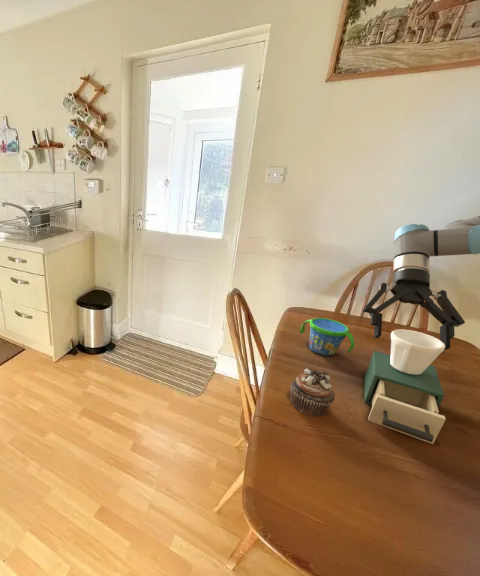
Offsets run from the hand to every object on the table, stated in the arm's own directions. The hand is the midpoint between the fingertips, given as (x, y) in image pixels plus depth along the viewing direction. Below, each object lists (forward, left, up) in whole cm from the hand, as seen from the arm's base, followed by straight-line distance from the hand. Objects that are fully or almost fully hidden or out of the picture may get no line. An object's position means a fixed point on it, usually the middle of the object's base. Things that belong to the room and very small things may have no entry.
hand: (410, 342), depth 83 cm
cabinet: (0, +4, -15) cm, 16 cm away
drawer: (0, +16, -15) cm, 22 cm away
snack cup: (+18, -12, -16) cm, 26 cm away
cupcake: (+18, +22, -16) cm, 32 cm away
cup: (0, +3, -6) cm, 7 cm away
